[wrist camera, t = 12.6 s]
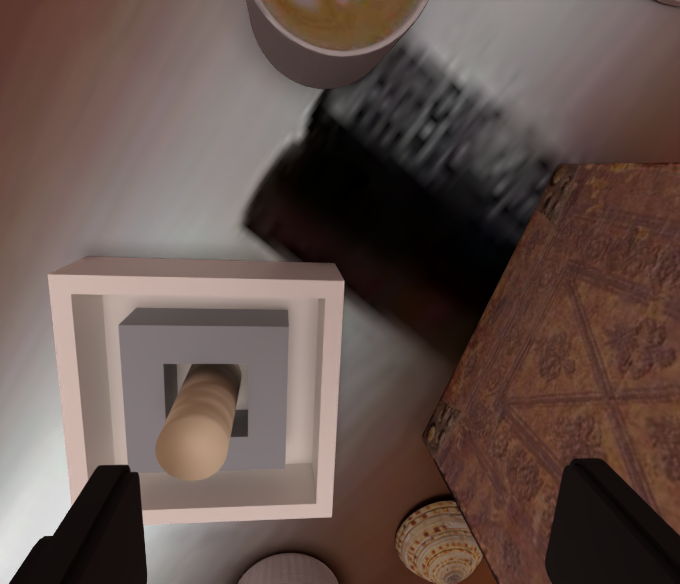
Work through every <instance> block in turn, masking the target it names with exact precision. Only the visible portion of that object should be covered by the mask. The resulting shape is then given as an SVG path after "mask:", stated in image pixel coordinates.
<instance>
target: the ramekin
mask: <svg viewBox="0 0 680 584" xmlns="http://www.w3.org/2000/svg"><path fill="white" fill-rule="evenodd" d="M238 584H339V583H338V581H337V579H336V577H335V576H334V574H333V572H332V571H331V570H330V569H329V568H328V567H327V566H326V565H325V564H324V563H322V562H321V561H319V560H317V559H315V558H313V557H311V556H308V555H304V554H300V553H282V554H276V555H273V556H270V557H267V558H265V559H263V560H261V561H259V562H258V563H256V564H255V565H253V566H252V567H251V568H250V569H249V570H247V572H246V573H245V574H244V575H243V576H242V578H241V579H240V580H239V582H238Z"/></svg>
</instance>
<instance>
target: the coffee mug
mask: <svg viewBox="0 0 680 584" xmlns="http://www.w3.org/2000/svg"><path fill="white" fill-rule="evenodd" d="M246 2H247V7H248V12H249V16H250V21H251V25H252V29H253V32H254V35H255V38H256V40H257V42H258V44H259V46H260V48H261V50H262V51H263V53H264V54H265V56H266V57H267V59H268V60H269V61H270V62H271V64H272V65H273V66H274V67H275V68H276V69H277V70H279V71H280V72H281V73H282V74H284V75H285V76H286V77H288V78H289V79H291V80H293V81H295V82H297V83H299V84H302V85H305V86H308V87H313V88H318V89H332V88H338V87H342V86H346V85H349V84H351V83H353V82H355V81H357V80H359V79H360V78H362V77H364V76H365V75H366V74H367V73H369V72H370V71H371V70H372V69H373V68H374V67H375V66H376V65H377V63H378V62H379V61H380V60H381V59H382V58H383V57H384V56H385V55H386V54H387V53H388V52H389V50H390V49H391V48H392V47H393V46H394V45H395V44H396V43H397V42H398V41H399V40H400V38H401V37H402V36H403V35H404V34H405V33H406V32H407V31H408V30H409V29H410V27H411V26H412V25H413V24H414V23H415V21H416V20H417V19H418V17H419V16H420V14H421V13H422V11H423V9H424V8H425V6H426V4H427V2H428V0H246Z"/></svg>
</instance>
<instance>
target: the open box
mask: <svg viewBox="0 0 680 584" xmlns="http://www.w3.org/2000/svg"><path fill="white" fill-rule="evenodd" d="M48 281H49V291H50V301H51V310H52V320H53V329H54V339H55V349H56V358H57V368H58V378H59V387H60V397H61V407H62V416H63V426H64V436H65V445H66V455H67V465H68V474H69V484H70V494H71V503H72V505H73V503H74V502H75V500H76V499H77V497H78V496H79V494H80V492H81V491H82V489H83V488H84V486H85V485H86V483H87V481H88V480H89V478H90V477H91V475H92V474H93V472H94V470H95V469H96V468H97V467H98V466H99V465H128V461H127V446H126V431H125V417H124V402H123V387H122V373H121V358H120V343H119V329H118V325H119V324H120V323H121V322H122V321H123V320H124V319H125V318H126V317H127V316H128V315H129V314H130V313H131V312H132V311H133V310H134V309H135V308H195V309H265V310H288V321H289V338H288V378H287V418H286V458H285V469H264V470H228V471H217V472H216V473H215V474H213V475H212V476H210V477H208V478H205V479H202V480H197V481H186V480H181V479H178V478H175V477H173V476H171V475H170V474H168V473H167V472H157V473H138V474H139V478H140V491H141V503H142V516H143V525H152V524H176V523H201V522H225V521H249V520H273V519H298V518H322V517H332V503H333V485H334V466H335V448H336V429H337V411H338V392H339V374H340V355H341V337H342V318H343V300H344V279H343V277H342V276H341V274H340V272H339V270H338V268H337V267H336V265H335V263H309V262H272V261H235V260H198V259H161V258H124V257H85V258H83V259H80V260H78V261H76V262H74V263H72V264H70V265H67V266H65V267H63V268H61V269H59V270H56V271H54V272H52V273H50V274H48ZM191 365H192V364H177V384H178V393H179V391H180V389H181V387H182V384H183V382H184V380H185V378H186V376H187V374H188V371H189V369H190V367H191ZM238 366H239V367H240V370H241V376H242V377H241V384H240V389H239V395H238V400H237V405H236V410H248V364H238Z"/></svg>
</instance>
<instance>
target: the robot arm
mask: <svg viewBox="0 0 680 584" xmlns="http://www.w3.org/2000/svg"><path fill="white" fill-rule="evenodd" d="M657 1H659V2H661V3H664V4H669V5H673V6H680V0H657ZM545 568H546V572H547V575H548V577H549V579H550V581H551V583H552V584H680V535H679V534H678V533H677V532H676V531H675V530H674V529H673V528H672V527H670V526H669V525H668V524H667V523H666V522H665V521H664V520H663V519H662V518H661V517H660V516H659V515H658V514H657V513H656V512H655V511H654V510H653V509H652V508H651V507H650V506H649V505H648V504H647V503H646V502H645V501H644V500H643V499H642V498H641V497H640V496H639V495H638V494H637V493H636V492H635V491H634V490H633V489H632V488H631V487H630V486H629V485H628V484H627V483H626V482H625V481H624V480H623V479H622V478H621V477H620V476H619V475H618V474H617V473H616V472H615V471H614V470H613V469H612V468H611V467H610V466H609V465H608V464H607V463H606V462H605V461H604V460H602V459H600V458H575V459H573V460H572V461H571V462H570V465H567V466H565V468H564V470H563V474H562V479H561V484H560V489H559V494H558V499H557V503H556V508H555V513H554V518H553V523H552V528H551V533H550V538H549V542H548V547H547V552H546V557H545ZM146 583H147V566H146V554H145V541H144V528H143V516H142V503H141V491H140V478H139V474H138V472H131V470H130V467H129V466H128V465H99V466H98V467H97V468H96V469H95V470H94V472H93V474H92V475H91V477H90V478H89V480H88V481H87V483H86V485H85V486H84V488H83V489H82V491H81V492H80V494H79V496H78V497H77V499H76V500H75V502H74V503H73V505H72V507H71V508H70V510H69V511H68V513H67V514H66V516H65V518H64V519H63V521H62V522H61V524H60V525H59V527H58V529H57V530H56V532H55V533H54V535H53V536H44V537H43V538H41V539H40V540H39V541H38V542H37V543H36V544H35V546H34V547H33V548H32V550H31V551H30V553H29V554H28V556H27V557H26V559H25V560H24V562H23V563H22V565H21V566H20V568H19V569H18V571H17V572H16V574H15V575H14V577H13V578H12V580H11V581H10V583H9V584H146Z"/></svg>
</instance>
